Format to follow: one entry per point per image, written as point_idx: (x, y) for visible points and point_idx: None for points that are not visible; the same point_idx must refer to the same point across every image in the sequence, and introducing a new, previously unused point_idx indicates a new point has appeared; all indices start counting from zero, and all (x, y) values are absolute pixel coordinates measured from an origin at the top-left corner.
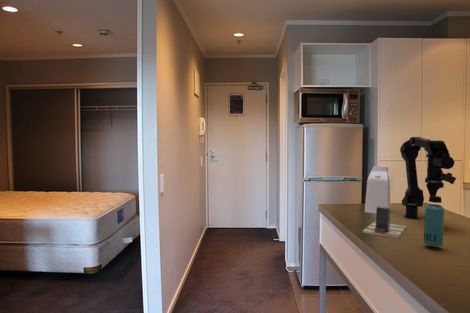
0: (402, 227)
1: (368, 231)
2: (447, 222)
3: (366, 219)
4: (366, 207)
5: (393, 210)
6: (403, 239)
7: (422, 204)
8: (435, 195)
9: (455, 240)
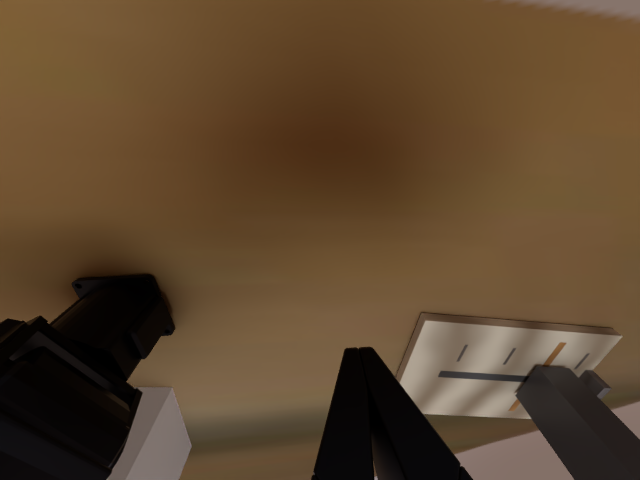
0: (455, 331)
1: None
2: (83, 100)
3: None
4: (179, 468)
5: None
6: (619, 311)
7: (27, 330)
8: (430, 427)
9: (619, 87)
